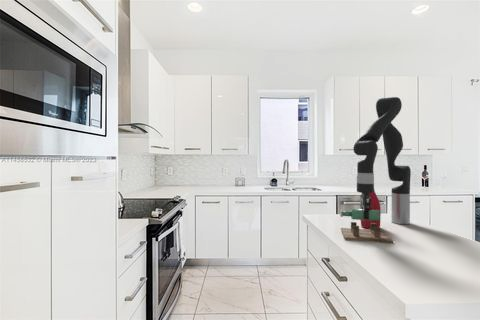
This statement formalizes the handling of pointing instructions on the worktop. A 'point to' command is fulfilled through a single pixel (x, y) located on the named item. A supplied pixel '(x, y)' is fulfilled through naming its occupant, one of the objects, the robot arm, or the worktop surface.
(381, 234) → the walnut bottle rack
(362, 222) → the wine bottle
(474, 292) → the worktop surface
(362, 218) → the green bottle
